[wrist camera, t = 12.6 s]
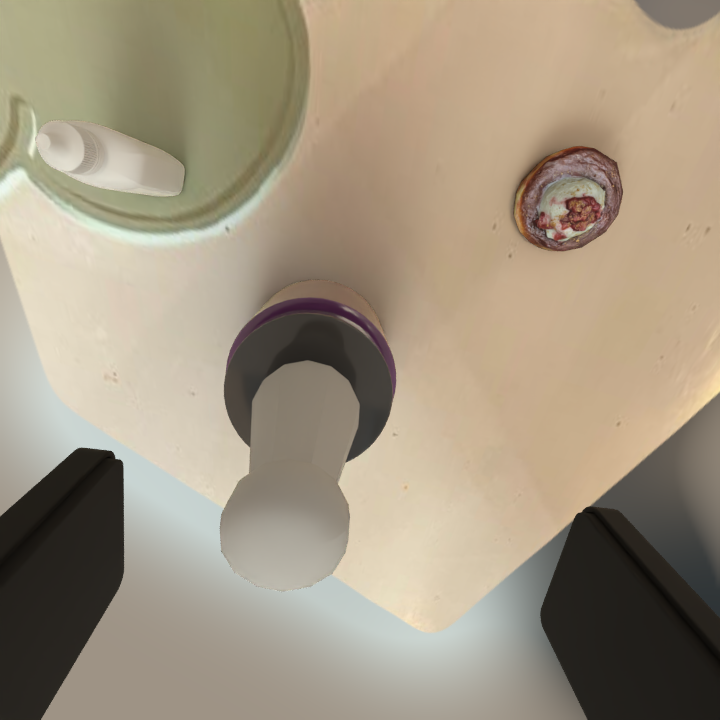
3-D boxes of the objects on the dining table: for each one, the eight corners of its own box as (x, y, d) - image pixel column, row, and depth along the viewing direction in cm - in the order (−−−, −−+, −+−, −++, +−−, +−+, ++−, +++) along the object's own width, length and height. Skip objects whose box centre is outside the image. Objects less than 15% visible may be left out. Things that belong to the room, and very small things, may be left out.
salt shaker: (329, 455, 27) (320, 648, 15) (244, 416, 26) (157, 588, 14) (375, 376, 26) (407, 517, 14) (287, 332, 25) (233, 440, 12)
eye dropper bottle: (160, 220, 34) (66, 218, 22) (97, 163, 32) (-36, 130, 21) (196, 176, 33) (119, 152, 21) (134, 116, 31) (16, 55, 20)
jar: (226, 356, 37) (178, 412, 26) (304, 250, 35) (287, 263, 24) (330, 428, 39) (326, 507, 28) (410, 334, 37) (439, 381, 26)
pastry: (501, 243, 35) (526, 246, 30) (525, 140, 33) (556, 126, 28) (595, 257, 36) (635, 263, 31) (625, 158, 34) (672, 147, 29)
